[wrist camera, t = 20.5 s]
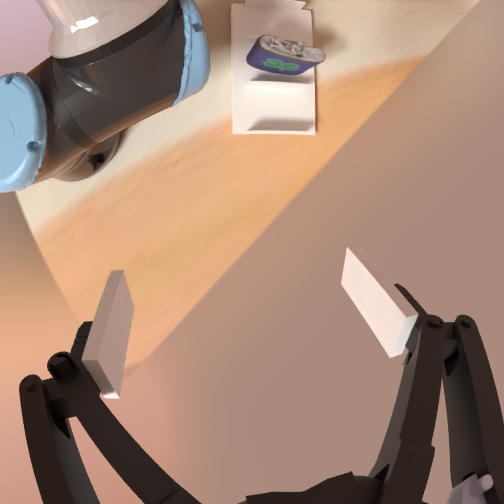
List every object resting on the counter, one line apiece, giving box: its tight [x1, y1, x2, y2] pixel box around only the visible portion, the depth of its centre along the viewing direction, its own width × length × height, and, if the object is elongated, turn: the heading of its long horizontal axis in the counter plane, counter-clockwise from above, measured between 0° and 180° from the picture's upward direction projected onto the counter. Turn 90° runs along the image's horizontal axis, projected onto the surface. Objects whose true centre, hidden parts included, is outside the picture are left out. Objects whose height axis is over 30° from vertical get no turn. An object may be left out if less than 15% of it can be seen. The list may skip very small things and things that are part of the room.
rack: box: [231, 0, 315, 135], centre depth 38 cm, size 13×23×4 cm, turn 0°
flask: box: [246, 35, 325, 75], centre depth 34 cm, size 9×3×11 cm, turn 81°
